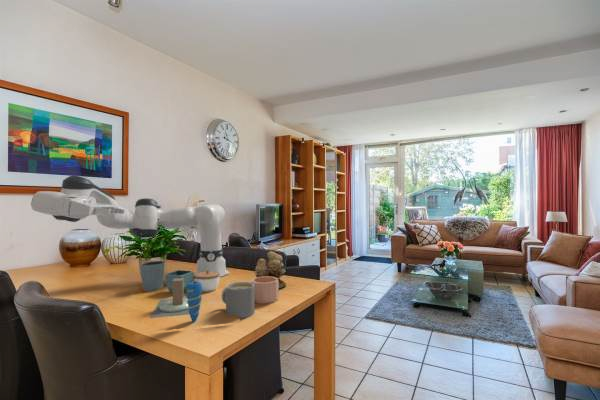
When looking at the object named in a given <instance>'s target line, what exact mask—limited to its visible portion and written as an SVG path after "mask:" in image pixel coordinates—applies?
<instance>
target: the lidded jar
mask: <svg viewBox="0 0 600 400" xmlns="http://www.w3.org/2000/svg"><path fill="white" fill-rule="evenodd" d="M195 279H196V282H200V283H201V285H202V293H203V292H204V293H206V292H207V293H208V292H213V291H215V290H216V289H217V288H218V287H219V284H220V279H221V277H220V273H219V272H215V271H209V270H206V272H200V273H197V274H196V275H195V277H194V280H195Z"/></svg>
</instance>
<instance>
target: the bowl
mask: <svg viewBox="0 0 600 400" xmlns="http://www.w3.org/2000/svg"><path fill="white" fill-rule="evenodd" d="M250 283H253V284H254V304H258V305H259V304H260V305H265V304H267V305H268V304H272V303H276V302H277V301H278V300H279V297H280V295H279V291H280V290H279V280H278V278H276V277H269V276H264V277H256V276H255V277H253V278H251V279H250Z"/></svg>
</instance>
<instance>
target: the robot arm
mask: <svg viewBox="0 0 600 400" xmlns="http://www.w3.org/2000/svg"><path fill="white" fill-rule="evenodd" d="M90 196H91V197H92V198H94V199H95V202H94V201H93V200H92V199H91V198H90ZM30 207H31V209H32V210H33V211H35V212H37V213H40V214H45V215H50V216H52V217H53V218H54V219H55V220H57V221H66V222H71V223H76V222H78V221H81V220H83V219H85V218H86V217H89V216H96V219H97V221H98V223H99V224H101V226H104V227H106V228H110V229H115V230H117V229H118V230H124V229H131V231H130V233H131V234H133V235H134V237H135V238H137V237H138V238H137V239H139V238H141V239H140V240H142V239H149V238H152V237H155V236H156V235H158V233H157V232H159V229H158V228H159V227H158V225H162V226H164V227H165V229H164V230H168V229H169V230H174V229H185V228H191V227H198V230H199V236H200V250H199V258H198V259H197V261H196V271H195V273H193V278H195V275H196V274H197V273H200V272H206V270H209V271H215V272H219V273H220V278H221V277H223V276H227V275H230V271H228V270H227V269H226V259H225V258H224V257H223V253H224V251H223V247H222V242H223V241H222V233H221V230H220V225H219V223H220V222H222V221H223V220H224V218H225V216H226V212H225V209H224V207H223V206H221V205H220V204H217V203H216V204H215V203H211V204H202V205H194V206H186V207H185V206H184V207H178V208H177V207H176V208H171V209H170V208H169V209H166V210H164V209H163V210H162V209H161V208H162V206H161V205H160V204H159V202H157V201H156V200H155V199H154V198H150V197H149V198H148V197H143V198H140V199H138V200H137V201H136V202H135V205H134V208H135V209H134V212H133V211H131V210H130V209H128V208H125V207H122V206H120V205H119V204H118V201H116V198H115V197H114V195H112V194H110V193H109V192H108V191H106V190H104V189H103V188H101V187H99V186H98V185H96V184H94V183H93V182H92V181H91V180H90V179H88V178H86V177H84V176H81V175H72V174H71V175H70V176H67V177H66V178H65V179H63V180H62V184H61V190H60V191H59V192H58V191H50V190H49V191H48V190H45V191H44V190H43V191H42V190H40V191H36V193H34V194H33V197H32V198H31V201H30ZM158 219H159V220H158ZM156 237H157V236H156ZM156 237H155V238H156ZM152 239H153V238H152Z"/></svg>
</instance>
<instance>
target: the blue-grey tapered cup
mask: <svg viewBox="0 0 600 400" xmlns="http://www.w3.org/2000/svg"><path fill="white" fill-rule="evenodd" d="M139 265H140V271H141V273H140V274H141V282H142V290H143V291H144V292H153V291H154V292H155V291H160V290H162V289H163V288H164V280H165V279H164V278H165V261H164V260H152V261H146V262H141V263H140V264H139Z"/></svg>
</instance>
